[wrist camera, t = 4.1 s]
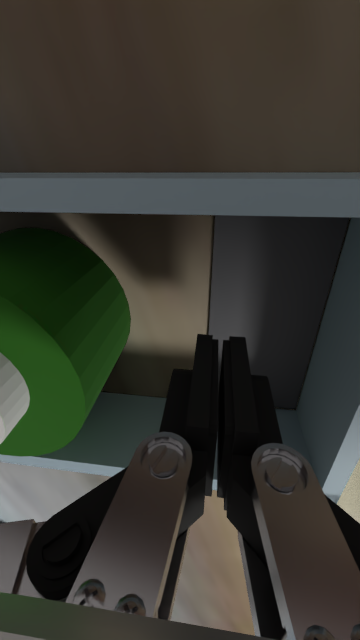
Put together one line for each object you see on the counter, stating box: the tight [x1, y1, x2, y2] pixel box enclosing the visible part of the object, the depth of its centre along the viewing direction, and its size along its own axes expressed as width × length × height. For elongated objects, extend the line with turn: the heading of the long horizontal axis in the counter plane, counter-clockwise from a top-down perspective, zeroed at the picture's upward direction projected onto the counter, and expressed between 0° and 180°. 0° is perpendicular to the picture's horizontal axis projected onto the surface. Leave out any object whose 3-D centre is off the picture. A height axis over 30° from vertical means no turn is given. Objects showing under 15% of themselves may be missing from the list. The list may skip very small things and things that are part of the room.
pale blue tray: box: [0, 172, 360, 504], centre depth 12 cm, size 20×13×4 cm, turn 90°
